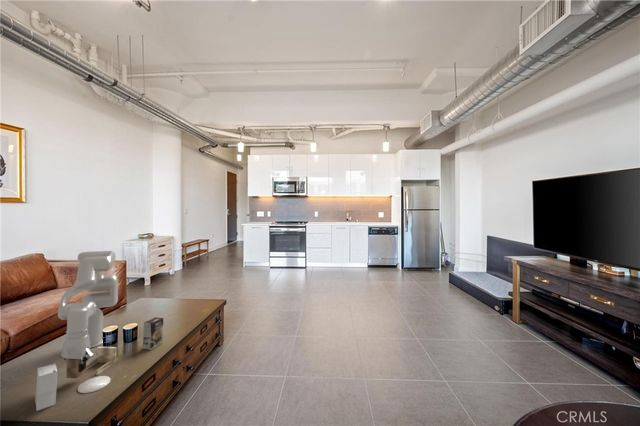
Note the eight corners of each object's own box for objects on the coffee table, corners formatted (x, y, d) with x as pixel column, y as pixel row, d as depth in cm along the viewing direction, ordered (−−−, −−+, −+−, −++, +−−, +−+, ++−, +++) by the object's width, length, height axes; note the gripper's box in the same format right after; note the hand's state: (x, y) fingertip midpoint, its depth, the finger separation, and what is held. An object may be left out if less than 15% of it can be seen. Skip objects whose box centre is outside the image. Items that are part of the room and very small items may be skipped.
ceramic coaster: (70, 392, 122) (70, 391, 122) (92, 376, 134) (92, 375, 134) (96, 393, 122) (96, 392, 122) (116, 377, 134) (116, 376, 134)
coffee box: (151, 350, 161) (152, 323, 161) (142, 348, 162) (143, 322, 162) (163, 343, 170) (164, 317, 170) (154, 341, 171) (155, 316, 171)
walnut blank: (66, 377, 127) (66, 359, 127) (76, 371, 132) (76, 353, 132) (76, 378, 127) (77, 359, 127) (86, 372, 132) (86, 354, 132)
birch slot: (77, 374, 135) (77, 358, 135) (97, 361, 148) (98, 346, 148) (97, 375, 135) (98, 359, 135) (116, 361, 148) (116, 347, 148)
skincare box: (34, 402, 115) (36, 368, 115) (54, 395, 120) (55, 362, 120) (36, 412, 110) (37, 376, 110) (56, 404, 115) (58, 369, 115)
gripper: (52, 336, 125) (51, 374, 126) (88, 338, 125) (87, 376, 126) (67, 328, 133) (66, 364, 133) (101, 330, 133) (100, 366, 133)
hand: (76, 369), depth 130 cm, fingers closed on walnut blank, 5 cm apart
